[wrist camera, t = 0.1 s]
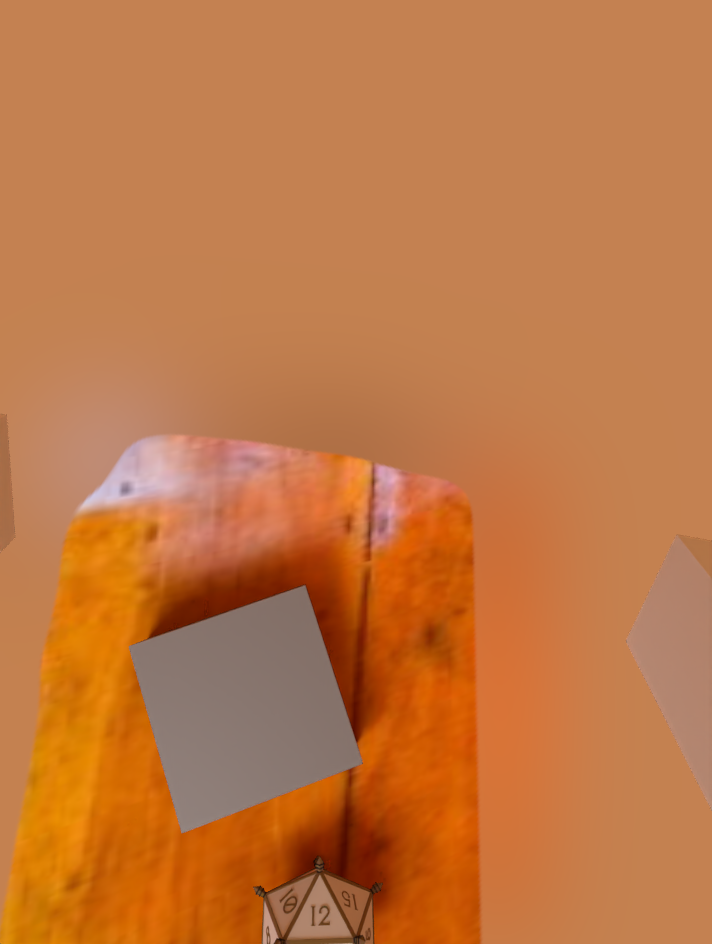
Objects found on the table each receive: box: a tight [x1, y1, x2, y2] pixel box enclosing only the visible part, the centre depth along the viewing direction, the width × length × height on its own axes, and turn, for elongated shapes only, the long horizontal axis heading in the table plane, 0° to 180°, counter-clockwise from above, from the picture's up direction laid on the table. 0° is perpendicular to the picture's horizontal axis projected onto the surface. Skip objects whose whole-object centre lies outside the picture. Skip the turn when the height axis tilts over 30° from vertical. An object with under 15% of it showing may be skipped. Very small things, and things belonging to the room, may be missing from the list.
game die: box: [253, 856, 383, 944], centre depth 40 cm, size 9×8×10 cm
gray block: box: [129, 585, 363, 833], centre depth 44 cm, size 12×12×5 cm
